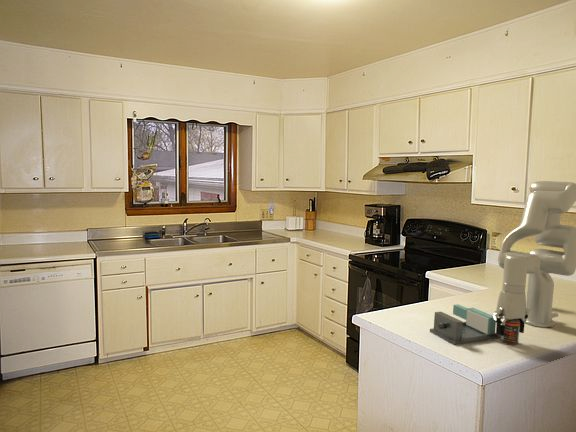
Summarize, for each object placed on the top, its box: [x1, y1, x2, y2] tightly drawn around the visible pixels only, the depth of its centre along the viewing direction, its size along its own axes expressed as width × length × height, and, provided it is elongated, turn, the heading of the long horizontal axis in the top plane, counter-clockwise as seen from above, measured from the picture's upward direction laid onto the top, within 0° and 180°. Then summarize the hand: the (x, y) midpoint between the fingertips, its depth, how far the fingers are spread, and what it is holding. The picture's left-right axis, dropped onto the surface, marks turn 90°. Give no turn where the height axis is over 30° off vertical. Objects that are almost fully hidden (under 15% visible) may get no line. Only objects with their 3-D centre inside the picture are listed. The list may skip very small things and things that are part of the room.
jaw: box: [452, 303, 497, 334], centre depth 177 cm, size 3×20×7 cm, turn 21°
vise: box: [429, 311, 501, 346], centre depth 171 cm, size 23×14×8 cm, turn 111°
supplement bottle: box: [500, 319, 520, 346], centre depth 165 cm, size 6×6×11 cm
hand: (509, 333), depth 165 cm, fingers open, 9 cm apart
